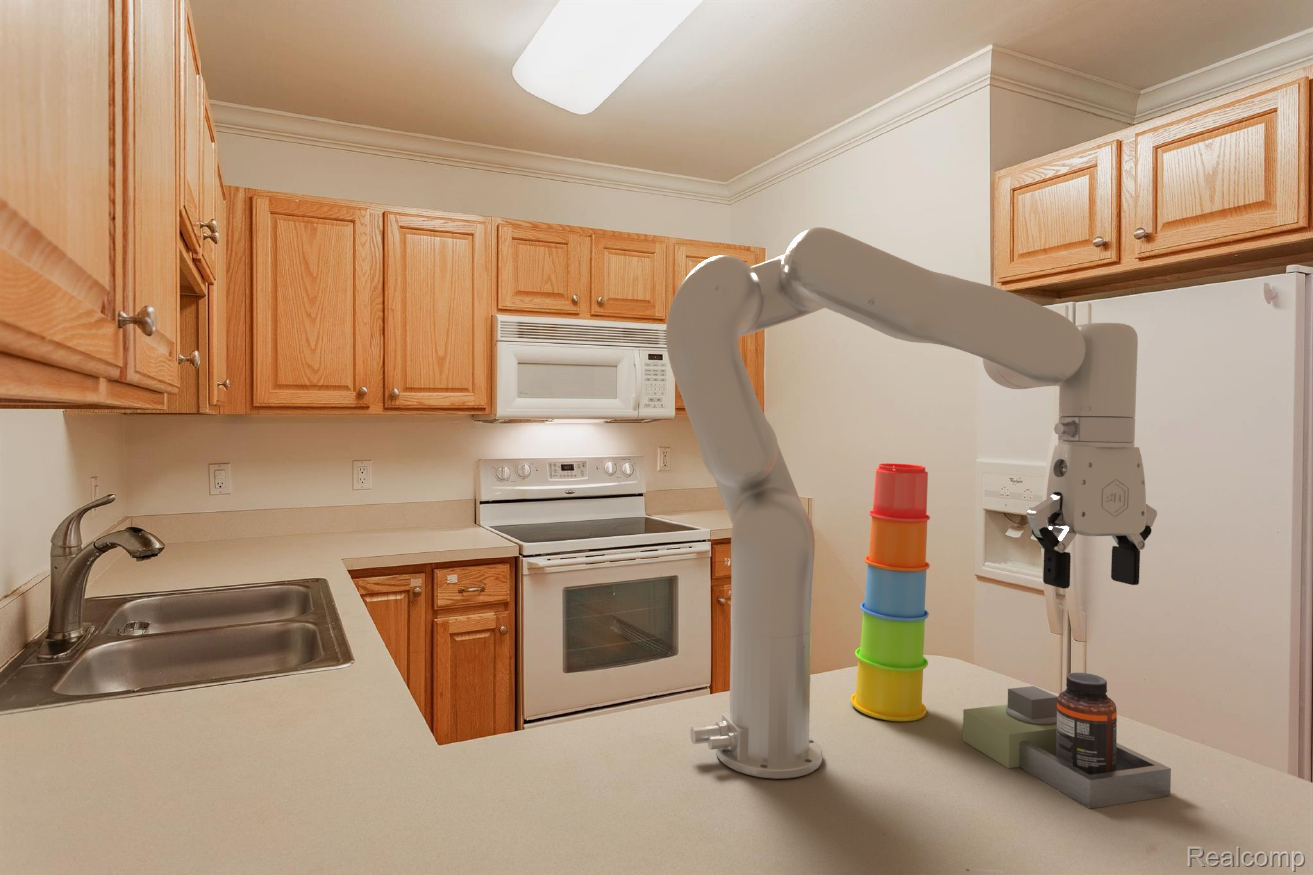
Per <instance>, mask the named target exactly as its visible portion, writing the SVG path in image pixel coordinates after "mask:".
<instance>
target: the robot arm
mask: <svg viewBox="0 0 1313 875" xmlns="http://www.w3.org/2000/svg"><path fill="white" fill-rule="evenodd" d="M823 309H828V310H830V311H832V312H834V313H836V314H839V315H841V316H845V317H847V318H848V319H852V320H854V321H856V322H857V323H861V324H863V325H865V326H867V327H869V328H870V329H873V330H875V331H878V332H879V333H882V334H884V335H887V336H889V337H891V338H894V339H897V340H901V341H904V342H905V341H906V342H908V343H910V342H911V343H917V344H918V343H919V344H920V343H922V344H933V345H939V346H944V347H948V348H952V349H956V350H960V351H963V352H965V353H967V354H968V353H969V354H971V355H974V356H976V357H979V358H981V359H982V363H983V364H982V365H983V369H984V371H985V372H986V374H987V376H988V377H989V378H990V379H991V380H992V381H993V382H995V383H996V384H997V385H999V386H1001V387H1004V388H1008V389H1010V390H1011V389H1012V390H1028V389H1033V388H1043V387H1056V386H1057V387H1059V393H1058V394H1059V397H1058V422H1057V423H1056V424H1055V425H1054V428H1053V430H1054V433H1055V434H1056V435H1057V445H1055V446H1054V447H1053V452H1052V457H1051V460H1050V466H1049V472H1048V478H1047V488H1046V497H1045V498H1046V499H1044V500H1043V501H1041V502H1039V503H1038V504H1036V505H1034V507H1032V508H1030V509H1029V510H1027V511H1026V518H1027V521H1028V523H1029V526H1030V528H1031V533H1032V536H1033V537H1034V538H1035V540H1036V541H1037V542H1038V546H1039V548H1040V549H1043V573H1042V574H1043V577H1042V581H1043V583H1044V585H1048V586H1052V587H1056V588H1059V589H1065V590H1066V589H1069V587H1070V586H1071V561H1072V560H1071V559H1072V557H1071V552H1068V551H1066V550H1067V549H1068V548H1069V546H1070V545H1071V544H1072V542H1073V540H1074V539H1075V537H1076V536H1077V535H1079V536H1082V537H1083V536H1084V537H1107V536H1108V537H1112V539H1113V540H1114V542H1115V543H1116V545H1112V549H1111V563H1110V565H1111V567H1110V568H1111V569H1110V572H1111V573H1110V578H1111V580H1113V581H1114V582H1119V583H1123V584H1127V585H1131V586H1138V585H1139V584H1140V564H1141V551H1143V549H1145V547H1146V540H1147V539H1148V538H1149V537H1150V535H1151V534H1152V527H1153V525H1154V523H1155V521H1156V518H1157V516H1158V511H1157V510H1156V509H1155V508H1153V507H1151V506H1150V505H1148V504H1147V496H1146V495H1147V494H1146V481H1145V480H1146V478H1145V470H1144V469H1145V468H1144V462H1143V456H1142V454H1141V450H1140V447H1138V446H1135V439H1136V438H1135V437H1136V434H1135V433H1136V402H1137V376H1138V375H1137V374H1138V372H1137V369H1138V342H1139V341H1138V339H1139V338H1138V332H1137V331H1136V329H1135V328H1134V327H1132V326H1131V325H1130V324H1126V323H1120V322H1119V323H1118V322H1095V323H1093V322H1092V323H1083V324H1078V325H1076V324H1075V323H1074V322H1072V320H1071V319H1069V318H1067V317H1066V316H1064V315H1062V314H1061V313H1059V312H1057V311H1055V310H1052V309H1050V308H1049V307H1046V306H1043V305H1041V304H1039V303H1037V302H1033V301H1032V300H1031V299H1027V298H1025V297H1022V296H1020V295H1017V294H1015V293H1012V292H1011V291H1007V290H1004V289H1001V288H998V287H995V286H991V285H989V284H988V285H987V284H984V283H980V282H976V281H971V280H968V279H964V278H959V277H957V276H954V275H950V274H947V273H941V272H936V271H932V270H930V269H928V268H925V267H921V266H920V265H916V264H914V262H913V263H912V262H911V261H908V260H905V259H902V258H900V257H898V256H896V255H893V254H891V253H889V252H886V251H884V250H881V249H879V248H877V247H875V246H872V245H871V244H869V243H866V242H863V241H862V240H858V239H856V238H854V237H851V235H847V234H844V233H843V232H840V231H838V230H835V229H831V228H826V227H823V226H822V227H813V228H809V229H806V230H804V231H802V232H801V233H799V234H798V235H797V236H796V237H795V238H794V239H793V240H792V241H791V243H790V244H789V246H788V247H787V249H786V251H785V254H783V255H780V256H777V257H775V258H772V259H770V260H767V261H764V262H761V263H759V264H755V265H752V266H750V265H749V264H748V263H747V262H745V261H744V260H742V259H740V258H739V257H736V256H734V255H726V254H725V255H723V254H722V255H716V256H712V257H709V258H707V259H705V260H704V261H702V262H701V263H699V264H698V265H697V266H696V267H694V268H693V269H692V270H691V271H690V272H689V274H688V275H687V276H686V277H685V278H684V279H683V281H682V283H681V284H680V285H679V287H678V289H677V290H676V292H675V295H674V297H673V298H672V301H671V304H670V307H669V310H668V314H667V319H666V320H667V321H666V327H665V331H666V332H665V340H666V342H665V343H666V344H665V345H666V351H667V356H668V360H669V364H670V368H671V370H672V371H671V372H672V373H673V374H672V375H673V377H674V381H675V383H676V386H677V388H678V390H679V391H678V392H679V393H680V397H681V399H682V402H683V406H684V409H685V411H686V415H687V417H688V419H689V422H690V425H691V427H692V430H693V433H694V435H695V438H696V441H697V443H698V447H699V452H700V454H701V459H702V462H703V464H704V466H705V468H706V470H707V471H708V473H709V475H711V477H713V478H714V481H715V483H716V485H717V488H718V491H719V493H720V496H721V499H722V501H723V503H724V505H725V509H726V511H727V513H728V516H729V518H730V521H731V523H732V527H731V528H732V529H731V535H730V536H731V537H730V539H731V540H730V566H731V567H730V569H731V570H730V575H731V576H730V577H731V578H730V580H731V582H730V584H731V585H730V587H731V588H730V591H731V592H730V663H729V664H730V665H729V666H730V669H729V712H724V713H723V712H722V713H721V721H717V722H715V723H714V725H701V726H700V725H699V726H697V725H696V726H692V727H690V731H689V732H690V733H689V734H690V741H691V744H692V745H699V744H707V746H708V749H709V750H715V753H716V756H717V758H718V759H719V760H720V761H721V763H723V764H724V765H725V766H727V767H728V768H730V769H732V770H734V771H736V772H739V773H741V774H745V775H748V776H753V777H757V778H763V779H779V780H781V779H790V778H791V779H792V778H798V777H801V776H805V775H809V774H811V773H813V772H815V770H817V769H818V768H819V767H820V766H821V764H822V762H823V750H822V747H821V746H820V744H819V743H818V742H817V741H816V739H815V740H814V739H813V738H812V737H810V723H811V722H810V721H811V720H810V717H811V716H810V712H811V707H810V706H811V660H812V658H811V657H812V654H811V653H812V652H811V651H812V595H813V592H812V591H813V579H814V578H813V577H814V564H815V548H816V547H815V546H816V545H815V544H816V543H815V531H814V526H813V522H812V519H811V517H810V515H809V513H808V512H807V510H806V509H805V507H804V506H803V504H802V501H801V499H800V496H799V494H798V491H797V489H796V486H795V483H794V482H793V479H792V476H791V474H790V471H789V468H788V466H787V463H786V461H785V458H784V456H783V453H782V451H781V448H780V446H779V443H778V439H777V435H776V433H775V430H774V428H773V426H772V425H771V424H770V422H769V420H767V418H766V415H765V413H764V412H763V409H762V407H761V404H760V403H759V400H758V397H757V394H756V392H755V390H754V389H755V388H754V387H753V385H752V382H751V378H750V376H749V372H748V369H747V368H746V364H745V362H744V360H743V357H742V354H741V350H740V345H739V338H741V337H744V336H745V337H746V336H748V335H751V334H754V333H758V332H760V331H762V330H763V331H764V330H766V329H769V328H772V327H775V326H779V325H781V324H785V323H787V322H790V321H794V320H797V319H799V318H802V317H806V316H807V315H810V314H812V313H816V312H818V311H820V310H823ZM1058 536H1059V537H1058Z"/></svg>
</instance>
